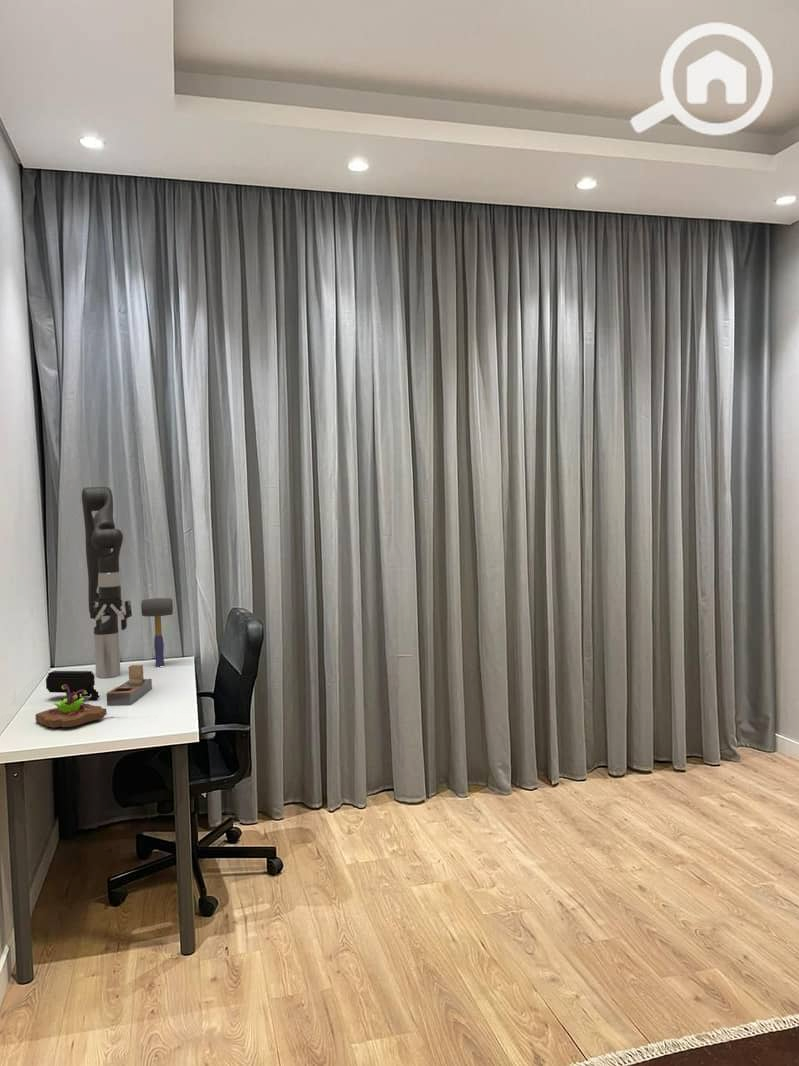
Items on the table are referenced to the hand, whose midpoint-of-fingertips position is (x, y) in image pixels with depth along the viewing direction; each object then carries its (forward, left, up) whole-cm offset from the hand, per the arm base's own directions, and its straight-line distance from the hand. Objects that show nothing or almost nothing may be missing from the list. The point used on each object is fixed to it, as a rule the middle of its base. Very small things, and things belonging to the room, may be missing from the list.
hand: (111, 630), depth 306 cm
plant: (+29, -4, -25) cm, 38 cm away
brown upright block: (-5, +6, -23) cm, 24 cm away
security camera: (+3, -13, -24) cm, 28 cm away
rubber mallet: (-46, +2, -24) cm, 52 cm away
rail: (+2, +6, -24) cm, 25 cm away
